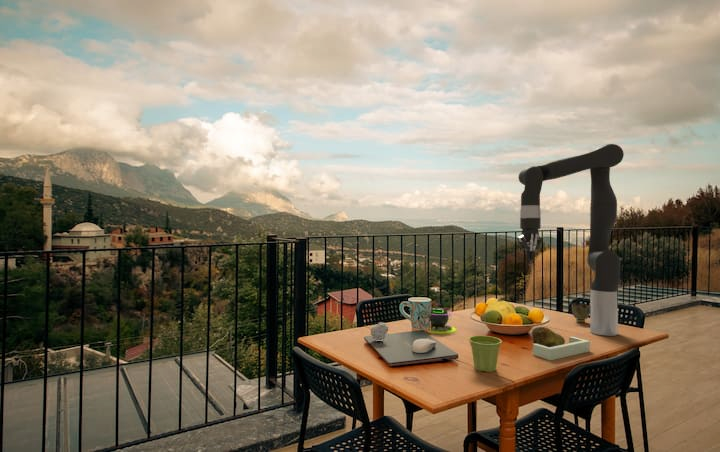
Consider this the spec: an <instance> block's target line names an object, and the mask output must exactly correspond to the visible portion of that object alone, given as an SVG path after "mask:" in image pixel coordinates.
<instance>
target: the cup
mask: <svg viewBox="0 0 720 452" xmlns="http://www.w3.org/2000/svg"><path fill="white" fill-rule="evenodd" d="M571 311H572V315H573V317H574V318H575V319H576V320H575V321H576V322H577V323H579V322H580V324H585V323H586V320H587V319H588V318H589V316H590V304H586V303H581V302H580V303H578V304H577V303H573V302H572V303H571Z"/></svg>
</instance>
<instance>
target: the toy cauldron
mask: <svg viewBox="0 0 720 452" xmlns="http://www.w3.org/2000/svg"><path fill="white" fill-rule="evenodd" d="M437 305H440V303H438V302H437ZM431 309H432V312H431V316H430V321H431V330H430V331H428V332H427V333H430V334H442V335H443V334H451V333H452V334H453V333H456V332H457V328H456V327H454V326H452V325H448V322H449V317H451V316H452V313H453V312H452V311H450V310H446V309H444V308H442V307H439V308H434V307H432V308H431Z"/></svg>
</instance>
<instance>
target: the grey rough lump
mask: <svg viewBox="0 0 720 452" xmlns="http://www.w3.org/2000/svg"><path fill="white" fill-rule="evenodd" d="M369 330H370V335H371V338H372V339H373V340H374V339H376V340H382V339H384V340H385V338H386V335H387V333H388V331H389V326H388V325H387V324H386V322H381V321H380V322H378V323H377V324H376V325H373V326H372V327H371V328H370V329H369Z"/></svg>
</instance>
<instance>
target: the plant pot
mask: <svg viewBox="0 0 720 452" xmlns="http://www.w3.org/2000/svg"><path fill="white" fill-rule="evenodd" d="M468 341H469V342H470V346H471V351H472V352H471V353H472V360H473V367H474V369H475V370H477V371H479V372H486V373H491V372H492V373H493V372H495V371H496V369H497V364H498V357H499V349H500V347H501V344H502V342H503V341H502V339H500V338H498V337H495V336H490V335H473V336H470V337H468Z"/></svg>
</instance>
